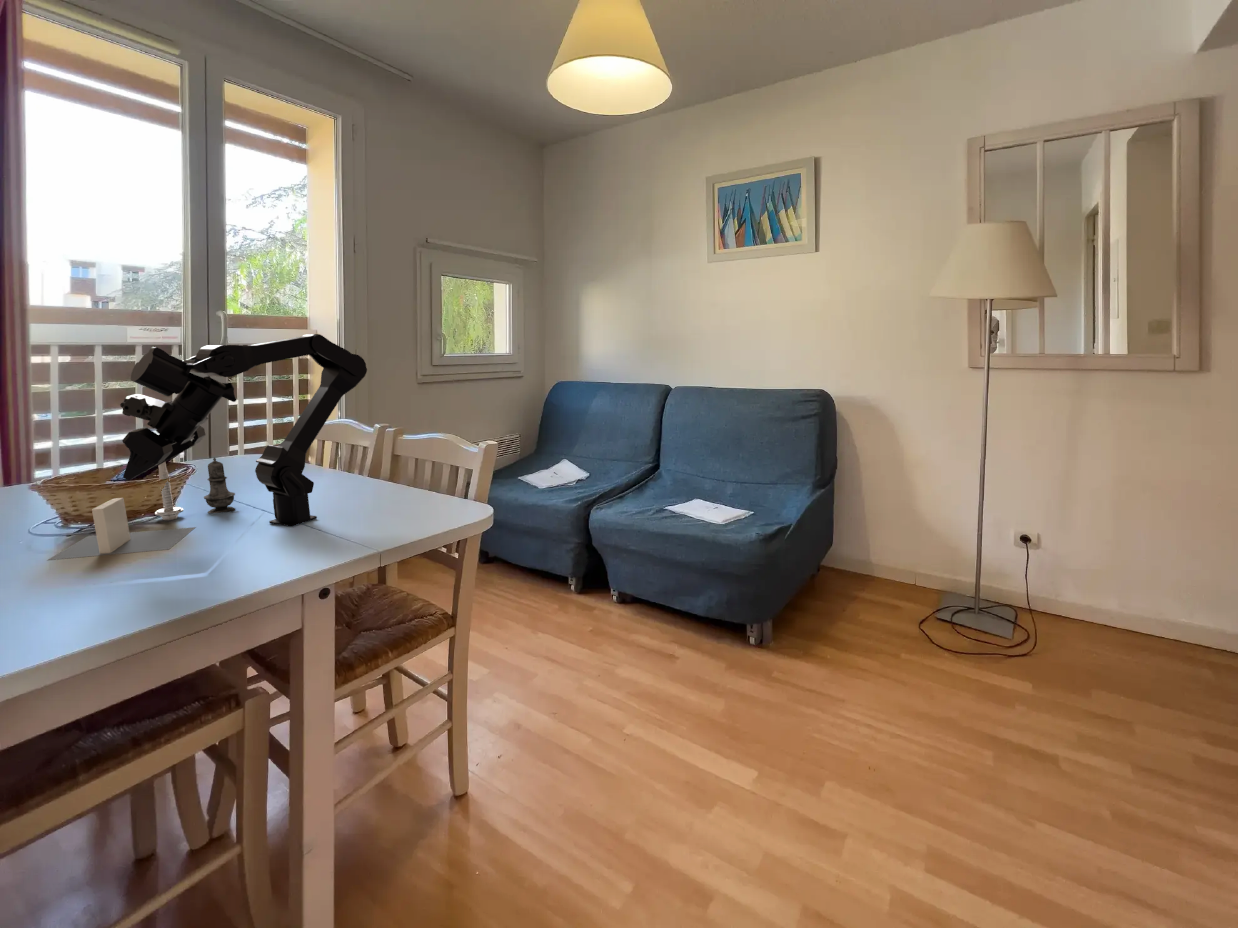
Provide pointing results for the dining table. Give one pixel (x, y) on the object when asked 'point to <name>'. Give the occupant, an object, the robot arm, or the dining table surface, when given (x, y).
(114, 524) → the tile
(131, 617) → the dining table surface
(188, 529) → the mat
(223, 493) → the salt shaker
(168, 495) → the screw
